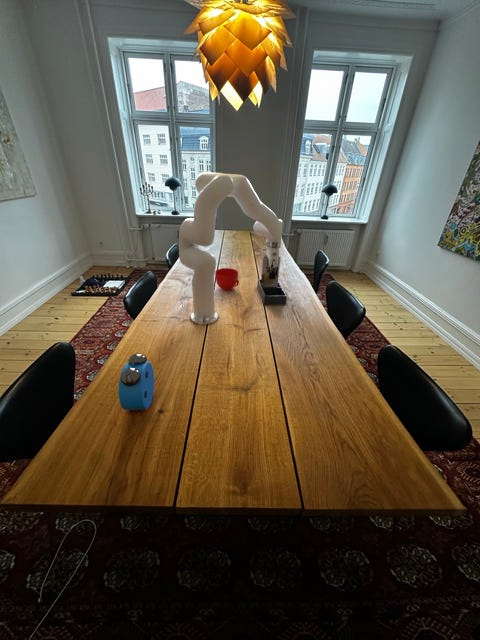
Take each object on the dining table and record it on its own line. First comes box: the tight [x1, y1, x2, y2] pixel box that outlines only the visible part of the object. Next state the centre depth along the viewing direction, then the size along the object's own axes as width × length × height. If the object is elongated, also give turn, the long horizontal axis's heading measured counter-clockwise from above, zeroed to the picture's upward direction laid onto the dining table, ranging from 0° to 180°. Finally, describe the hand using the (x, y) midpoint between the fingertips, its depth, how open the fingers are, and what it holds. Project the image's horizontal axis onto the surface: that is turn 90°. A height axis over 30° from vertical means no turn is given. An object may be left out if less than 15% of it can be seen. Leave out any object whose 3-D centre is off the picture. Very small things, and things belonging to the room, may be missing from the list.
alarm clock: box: [118, 352, 155, 413], centre depth 72 cm, size 13×6×15 cm, turn 4°
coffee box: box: [261, 254, 282, 287], centre depth 141 cm, size 9×6×16 cm
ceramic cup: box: [214, 267, 240, 291], centre depth 145 cm, size 13×17×10 cm
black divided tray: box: [256, 278, 288, 306], centre depth 141 cm, size 23×12×5 cm, turn 5°
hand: (270, 275), depth 143 cm, fingers closed on coffee box, 8 cm apart
